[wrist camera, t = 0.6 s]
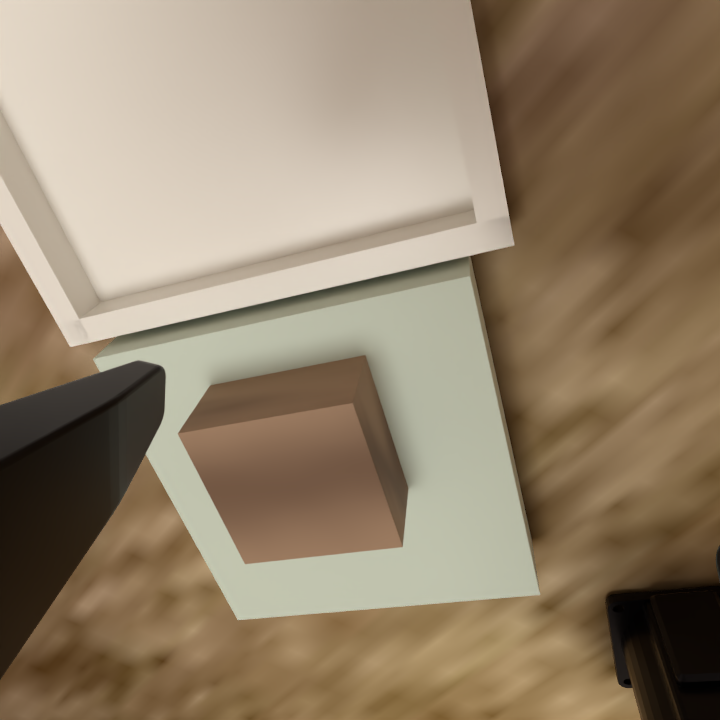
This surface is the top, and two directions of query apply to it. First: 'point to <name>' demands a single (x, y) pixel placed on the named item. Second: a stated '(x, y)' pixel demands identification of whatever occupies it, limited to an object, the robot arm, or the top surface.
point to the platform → (406, 424)
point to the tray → (238, 151)
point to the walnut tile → (300, 462)
